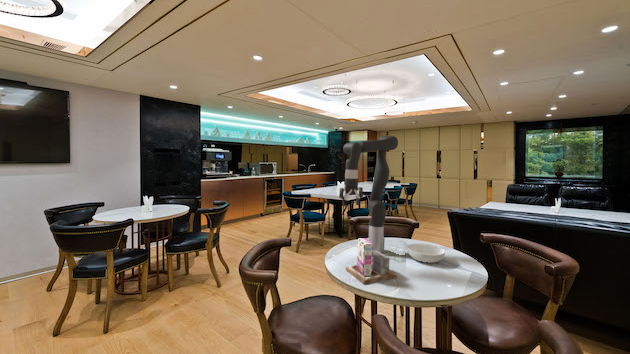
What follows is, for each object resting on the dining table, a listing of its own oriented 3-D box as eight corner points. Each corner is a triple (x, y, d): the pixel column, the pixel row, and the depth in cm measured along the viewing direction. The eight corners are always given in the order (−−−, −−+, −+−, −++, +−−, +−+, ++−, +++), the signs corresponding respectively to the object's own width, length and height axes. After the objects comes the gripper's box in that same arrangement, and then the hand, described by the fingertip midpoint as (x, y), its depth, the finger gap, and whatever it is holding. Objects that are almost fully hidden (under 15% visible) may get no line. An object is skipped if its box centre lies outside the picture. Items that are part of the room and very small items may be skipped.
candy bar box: (372, 276, 131) (373, 244, 129) (362, 277, 130) (363, 244, 129) (365, 267, 142) (366, 237, 141) (356, 267, 141) (357, 237, 140)
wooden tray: (376, 264, 149) (377, 248, 148) (396, 277, 134) (397, 259, 133) (345, 270, 141) (346, 252, 141) (363, 284, 126) (363, 265, 125)
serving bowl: (440, 255, 165) (441, 244, 164) (447, 269, 145) (448, 256, 144) (405, 251, 170) (406, 241, 170) (407, 264, 150) (408, 252, 150)
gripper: (358, 176, 156) (358, 203, 157) (337, 177, 150) (336, 205, 151) (365, 177, 149) (365, 206, 150) (343, 178, 143) (343, 207, 145)
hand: (350, 205), depth 151 cm, fingers open, 8 cm apart
